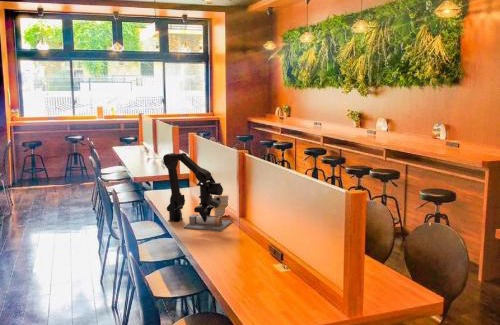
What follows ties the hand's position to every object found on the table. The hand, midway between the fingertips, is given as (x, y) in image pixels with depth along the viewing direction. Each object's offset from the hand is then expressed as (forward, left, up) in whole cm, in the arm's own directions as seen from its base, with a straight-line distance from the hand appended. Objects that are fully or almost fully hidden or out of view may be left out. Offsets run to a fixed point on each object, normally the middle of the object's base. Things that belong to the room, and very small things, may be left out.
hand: (206, 220), depth 279 cm
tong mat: (+1, 0, -3) cm, 3 cm away
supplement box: (+1, +21, -3) cm, 21 cm away
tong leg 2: (+2, +1, -1) cm, 3 cm away
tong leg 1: (+2, -1, -1) cm, 3 cm away
